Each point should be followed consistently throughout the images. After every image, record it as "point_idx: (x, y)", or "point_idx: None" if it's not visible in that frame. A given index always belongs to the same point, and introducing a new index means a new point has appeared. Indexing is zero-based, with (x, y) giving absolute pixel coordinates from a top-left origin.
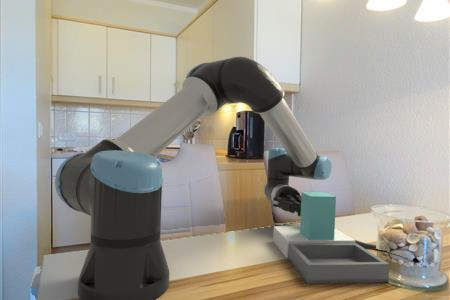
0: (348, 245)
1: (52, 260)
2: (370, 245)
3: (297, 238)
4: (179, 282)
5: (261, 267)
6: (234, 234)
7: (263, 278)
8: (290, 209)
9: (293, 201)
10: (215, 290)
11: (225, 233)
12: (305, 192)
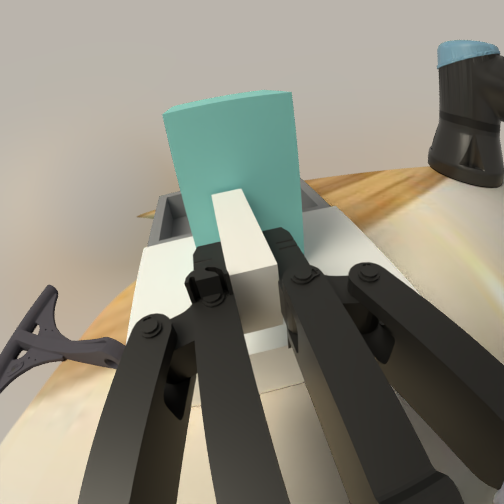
0: (175, 237)
1: None
2: (70, 340)
3: (311, 221)
4: (437, 177)
5: (372, 211)
6: None
7: (356, 192)
8: (386, 355)
9: (385, 377)
10: (395, 173)
11: None
12: (272, 93)
